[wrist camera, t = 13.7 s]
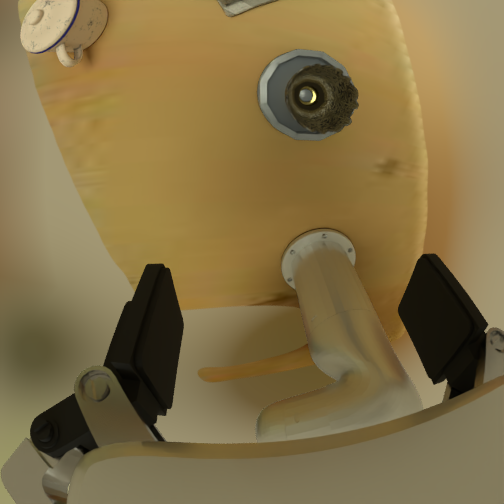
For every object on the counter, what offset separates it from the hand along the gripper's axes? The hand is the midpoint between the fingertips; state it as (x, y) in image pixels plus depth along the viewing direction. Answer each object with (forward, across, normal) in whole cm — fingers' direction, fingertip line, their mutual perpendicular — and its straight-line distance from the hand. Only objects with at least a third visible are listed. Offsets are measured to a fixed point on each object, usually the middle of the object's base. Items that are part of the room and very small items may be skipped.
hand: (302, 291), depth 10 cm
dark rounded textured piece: (+28, -6, -6) cm, 29 cm away
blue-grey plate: (+28, -6, -6) cm, 30 cm away
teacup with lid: (+28, +23, -19) cm, 41 cm away
